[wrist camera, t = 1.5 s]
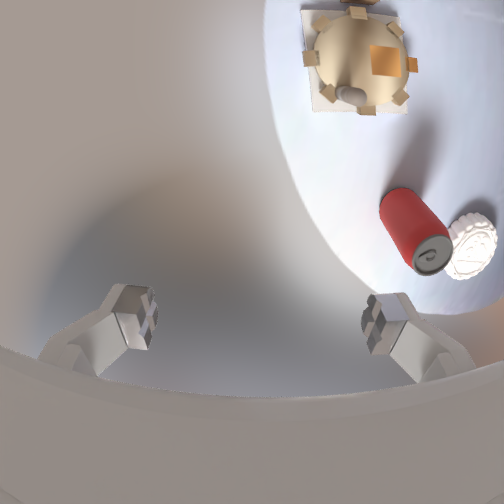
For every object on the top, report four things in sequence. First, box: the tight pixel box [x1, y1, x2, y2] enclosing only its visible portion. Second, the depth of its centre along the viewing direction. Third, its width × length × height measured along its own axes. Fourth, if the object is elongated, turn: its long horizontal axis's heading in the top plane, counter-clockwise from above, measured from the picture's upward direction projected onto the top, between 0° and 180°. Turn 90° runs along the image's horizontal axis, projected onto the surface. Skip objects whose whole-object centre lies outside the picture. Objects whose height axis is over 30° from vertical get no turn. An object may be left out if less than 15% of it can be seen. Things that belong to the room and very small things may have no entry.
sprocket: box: [302, 6, 418, 116], centre depth 21 cm, size 13×13×8 cm
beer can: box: [379, 188, 454, 276], centre depth 31 cm, size 7×7×12 cm
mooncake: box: [444, 212, 498, 280], centre depth 37 cm, size 12×12×4 cm
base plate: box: [300, 10, 407, 114], centre depth 25 cm, size 12×13×1 cm
